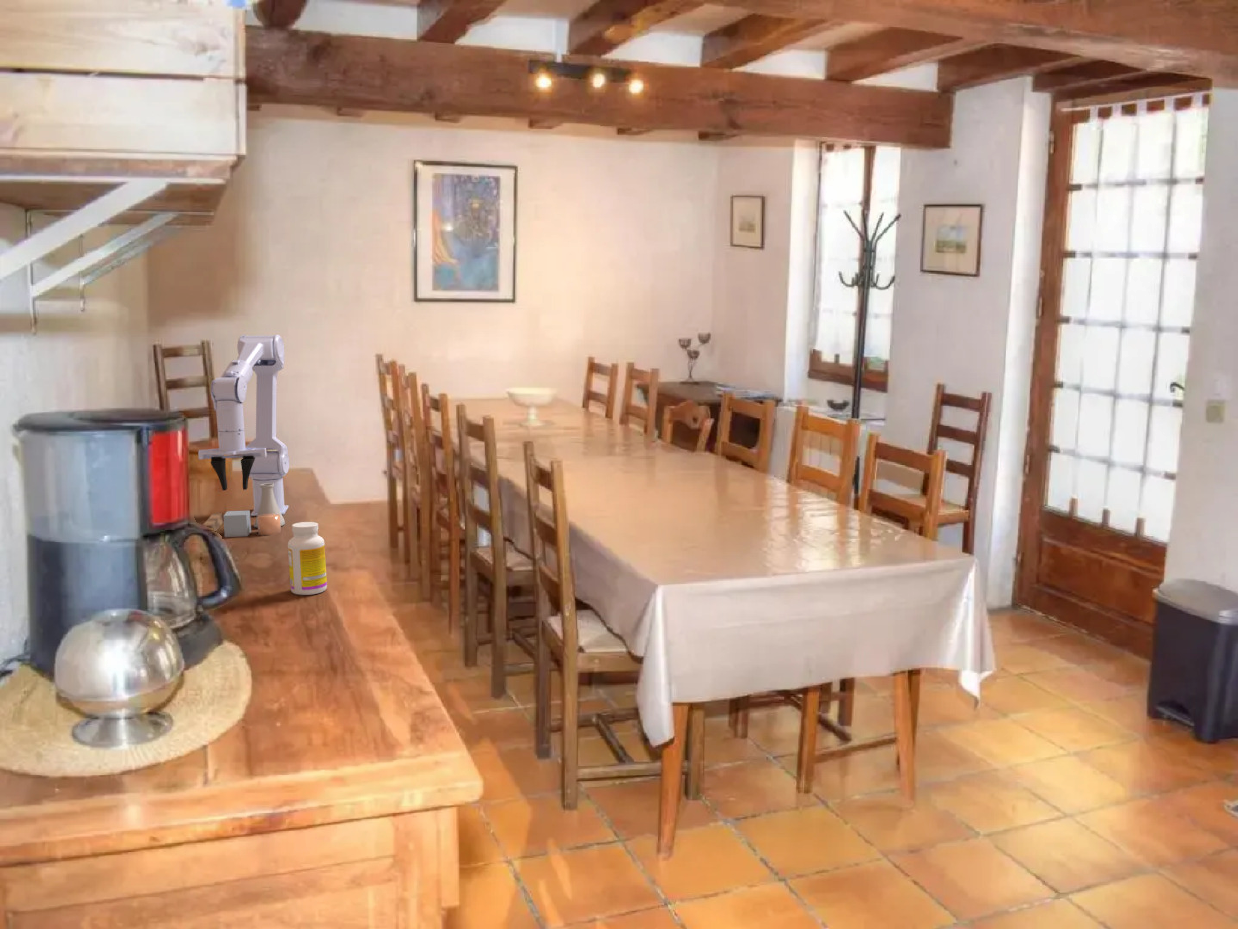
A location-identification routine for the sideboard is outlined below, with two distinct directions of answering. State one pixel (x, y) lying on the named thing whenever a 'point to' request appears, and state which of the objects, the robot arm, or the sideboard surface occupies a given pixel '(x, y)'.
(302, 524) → the supplement bottle
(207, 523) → the walnut rail
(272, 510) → the flask
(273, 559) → the sideboard surface
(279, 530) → the peach egg shape
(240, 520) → the slate block
